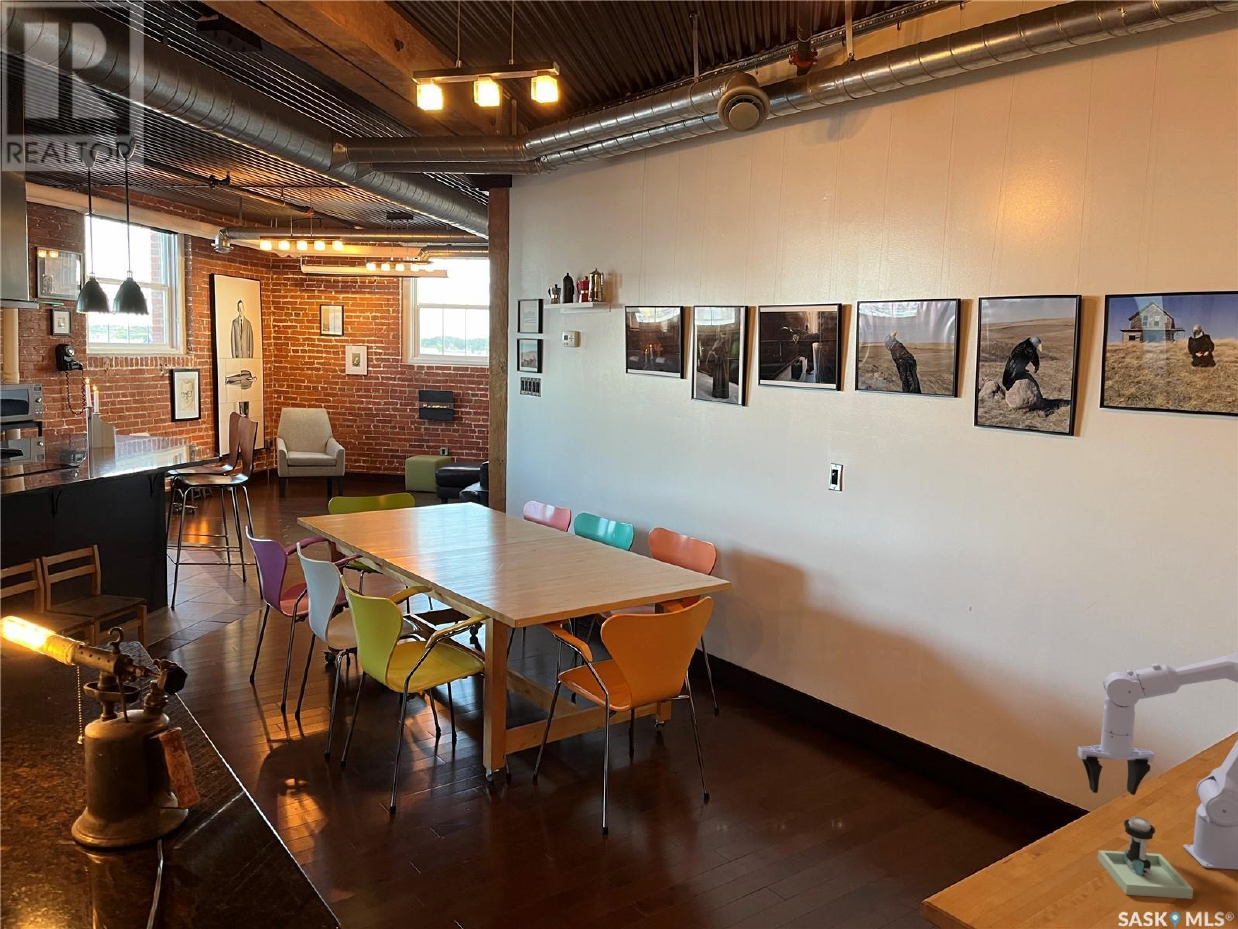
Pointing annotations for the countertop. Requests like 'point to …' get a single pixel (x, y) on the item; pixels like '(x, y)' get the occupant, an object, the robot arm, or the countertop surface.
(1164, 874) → the tray
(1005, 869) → the countertop surface
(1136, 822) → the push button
